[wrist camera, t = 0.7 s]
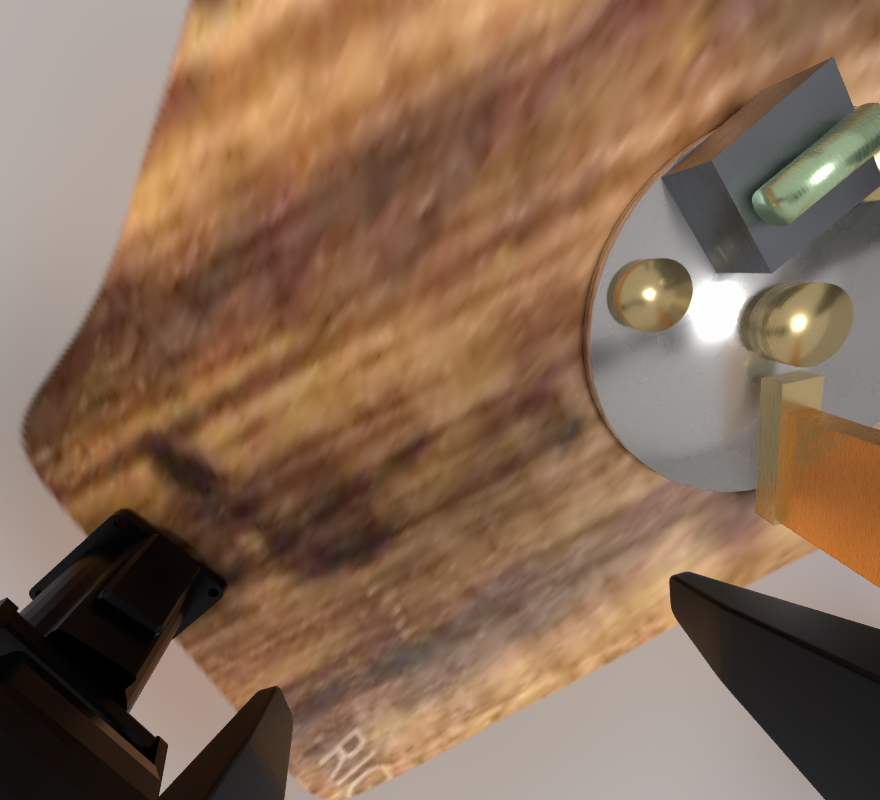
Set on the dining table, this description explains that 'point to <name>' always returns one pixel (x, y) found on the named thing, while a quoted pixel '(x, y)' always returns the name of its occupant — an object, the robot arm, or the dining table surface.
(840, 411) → the levelling plate
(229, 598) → the dining table surface
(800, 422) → the lever
